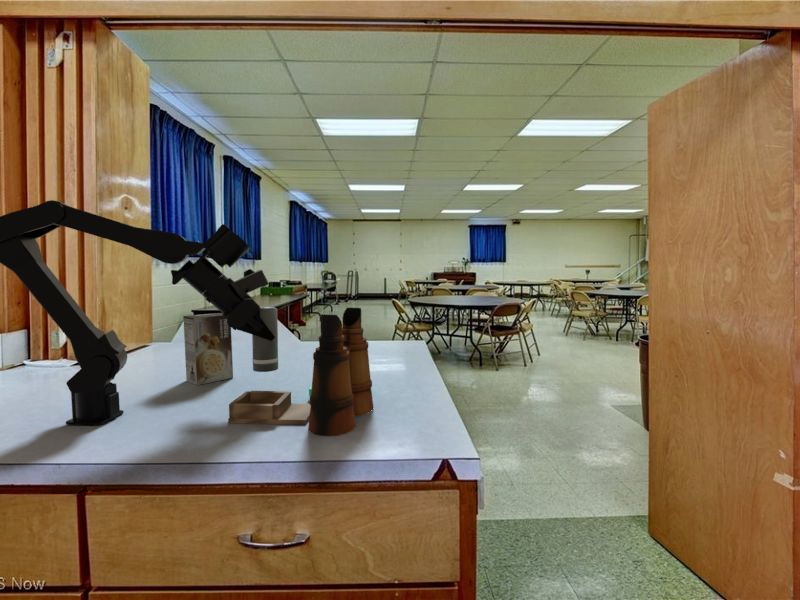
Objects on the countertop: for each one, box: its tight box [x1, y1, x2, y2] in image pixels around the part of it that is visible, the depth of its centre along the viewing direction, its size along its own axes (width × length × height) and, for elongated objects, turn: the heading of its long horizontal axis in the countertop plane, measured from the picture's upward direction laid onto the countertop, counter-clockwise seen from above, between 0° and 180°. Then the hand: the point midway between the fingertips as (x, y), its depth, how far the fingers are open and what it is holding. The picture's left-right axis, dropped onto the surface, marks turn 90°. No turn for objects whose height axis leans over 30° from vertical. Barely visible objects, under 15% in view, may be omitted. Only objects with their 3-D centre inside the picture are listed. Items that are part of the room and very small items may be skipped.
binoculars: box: [307, 307, 374, 437], centre depth 81 cm, size 18×8×20 cm, turn 165°
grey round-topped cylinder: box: [251, 306, 279, 373], centre depth 90 cm, size 5×5×13 cm
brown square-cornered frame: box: [227, 390, 311, 425], centre depth 82 cm, size 14×9×3 cm, turn 88°
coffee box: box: [183, 312, 234, 386], centre depth 107 cm, size 9×6×16 cm
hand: (272, 337), depth 91 cm, fingers closed on grey round-topped cylinder, 5 cm apart
